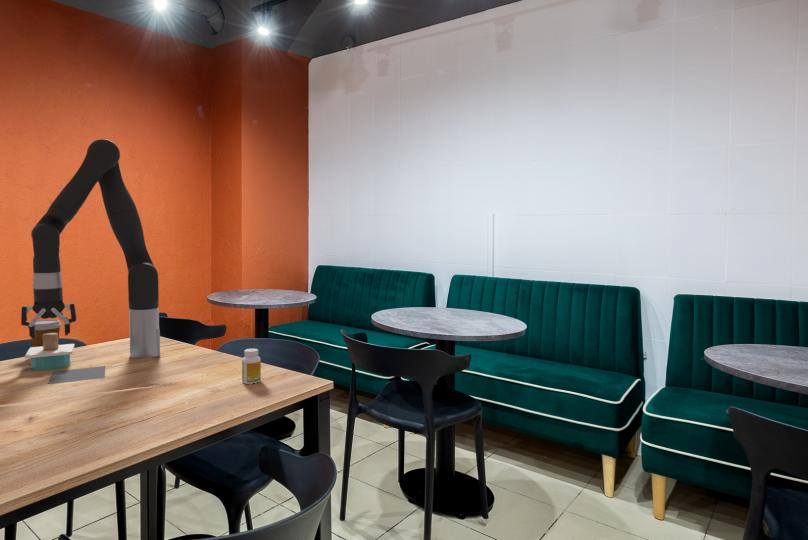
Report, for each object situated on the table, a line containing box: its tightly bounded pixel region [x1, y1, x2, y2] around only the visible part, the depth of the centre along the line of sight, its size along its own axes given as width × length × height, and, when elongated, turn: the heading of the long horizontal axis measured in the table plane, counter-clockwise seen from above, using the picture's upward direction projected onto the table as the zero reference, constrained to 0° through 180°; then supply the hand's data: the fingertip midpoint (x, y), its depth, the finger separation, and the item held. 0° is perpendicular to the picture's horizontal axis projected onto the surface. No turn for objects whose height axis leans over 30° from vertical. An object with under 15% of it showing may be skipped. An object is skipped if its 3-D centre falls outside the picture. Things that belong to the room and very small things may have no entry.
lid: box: [24, 333, 75, 359], centre depth 159 cm, size 12×12×6 cm
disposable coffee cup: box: [27, 318, 62, 347], centre depth 173 cm, size 10×10×12 cm
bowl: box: [30, 354, 71, 371], centre depth 159 cm, size 10×10×5 cm
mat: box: [47, 365, 106, 385], centre depth 151 cm, size 14×14×1 cm
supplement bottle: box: [241, 348, 262, 385], centre depth 148 cm, size 5×5×10 cm
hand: (50, 336), depth 159 cm, fingers open, 8 cm apart
